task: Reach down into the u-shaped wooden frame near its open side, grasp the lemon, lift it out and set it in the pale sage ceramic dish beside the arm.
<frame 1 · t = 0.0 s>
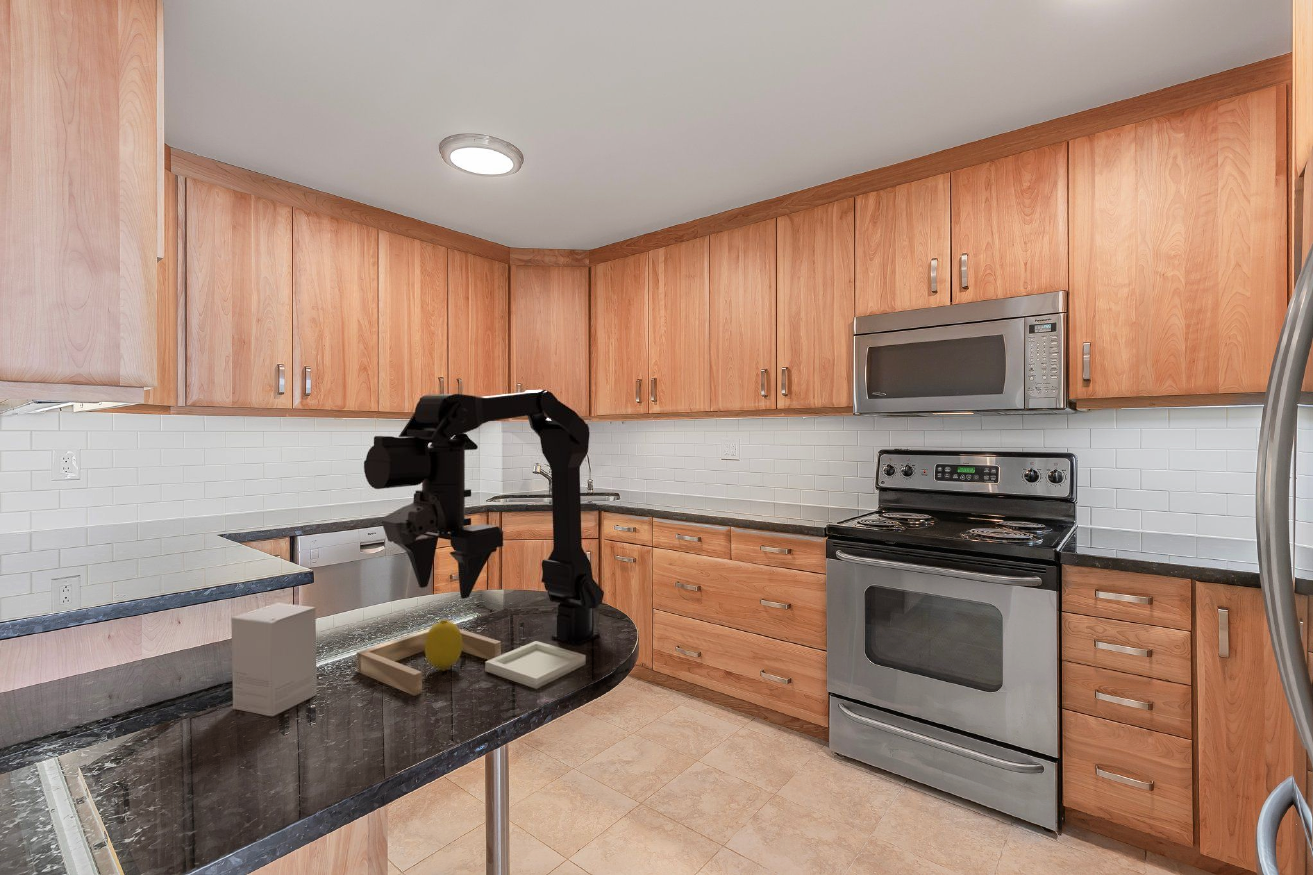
hand: (443, 592, 88), 15 cm above the countertop, tool pointing down, fingers open, 9 cm apart
supplement box: (275, 703, 85), on the countertop
lemon: (443, 671, 97), on the countertop
u-shaped wooden frame: (431, 665, 98), on the countertop
dish: (536, 667, 98), on the countertop
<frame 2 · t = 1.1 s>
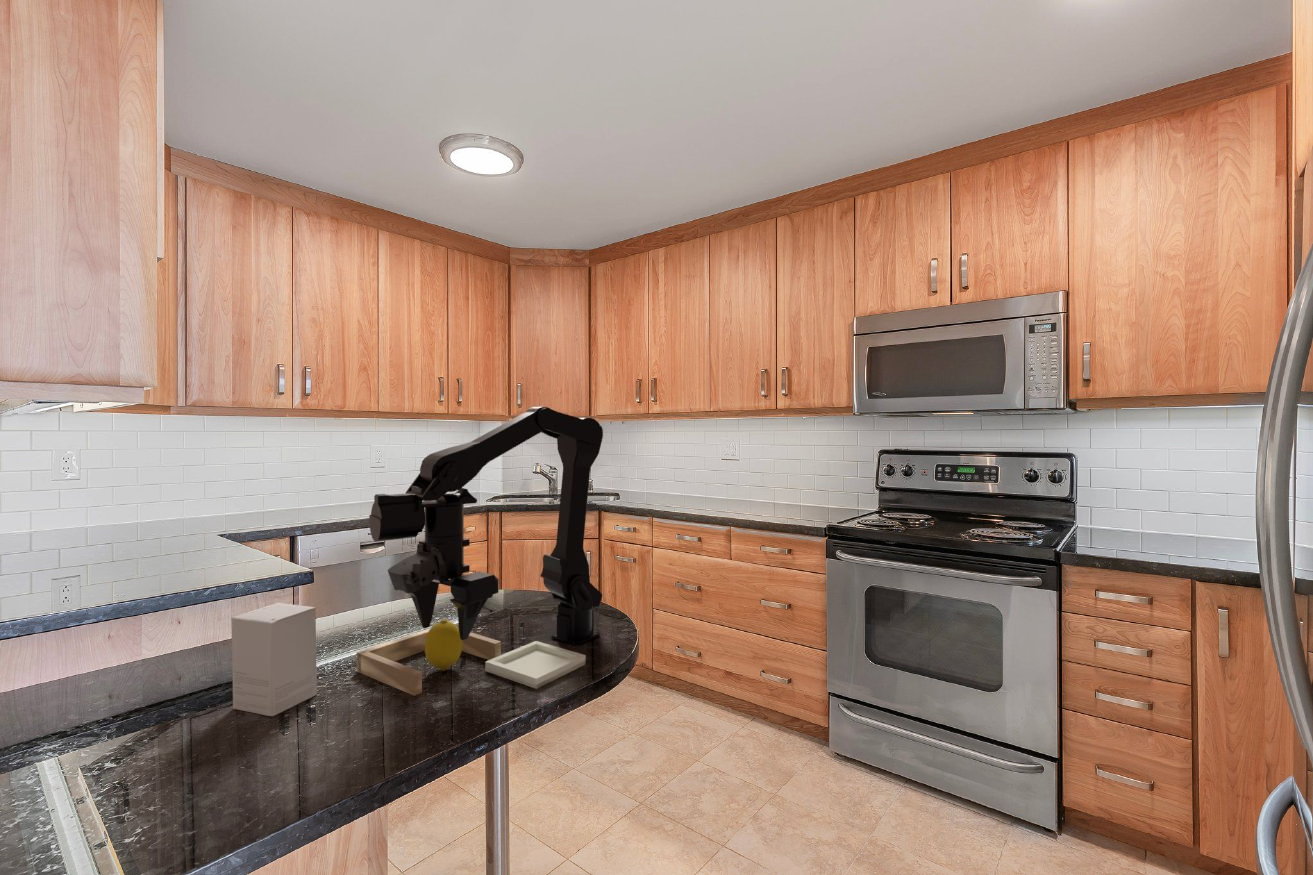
hand: (444, 633, 96), 6 cm above the countertop, tool pointing down, fingers open, 9 cm apart
nothing on the countertop moved.
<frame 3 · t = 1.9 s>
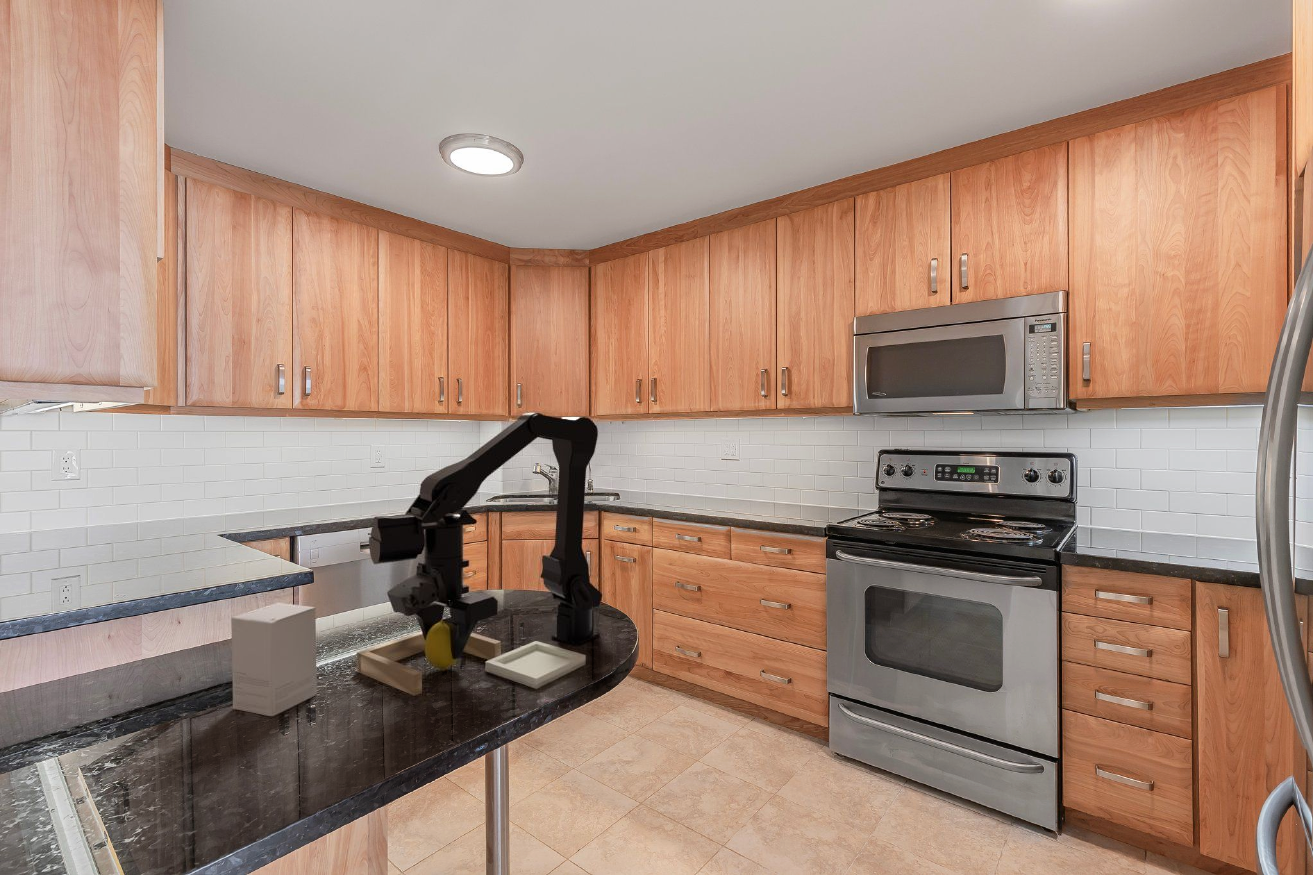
hand: (443, 654, 96), 3 cm above the countertop, tool pointing down, fingers closed on lemon, 6 cm apart
lemon: (443, 671, 97), on the countertop, touching gripper
everything else where it was.
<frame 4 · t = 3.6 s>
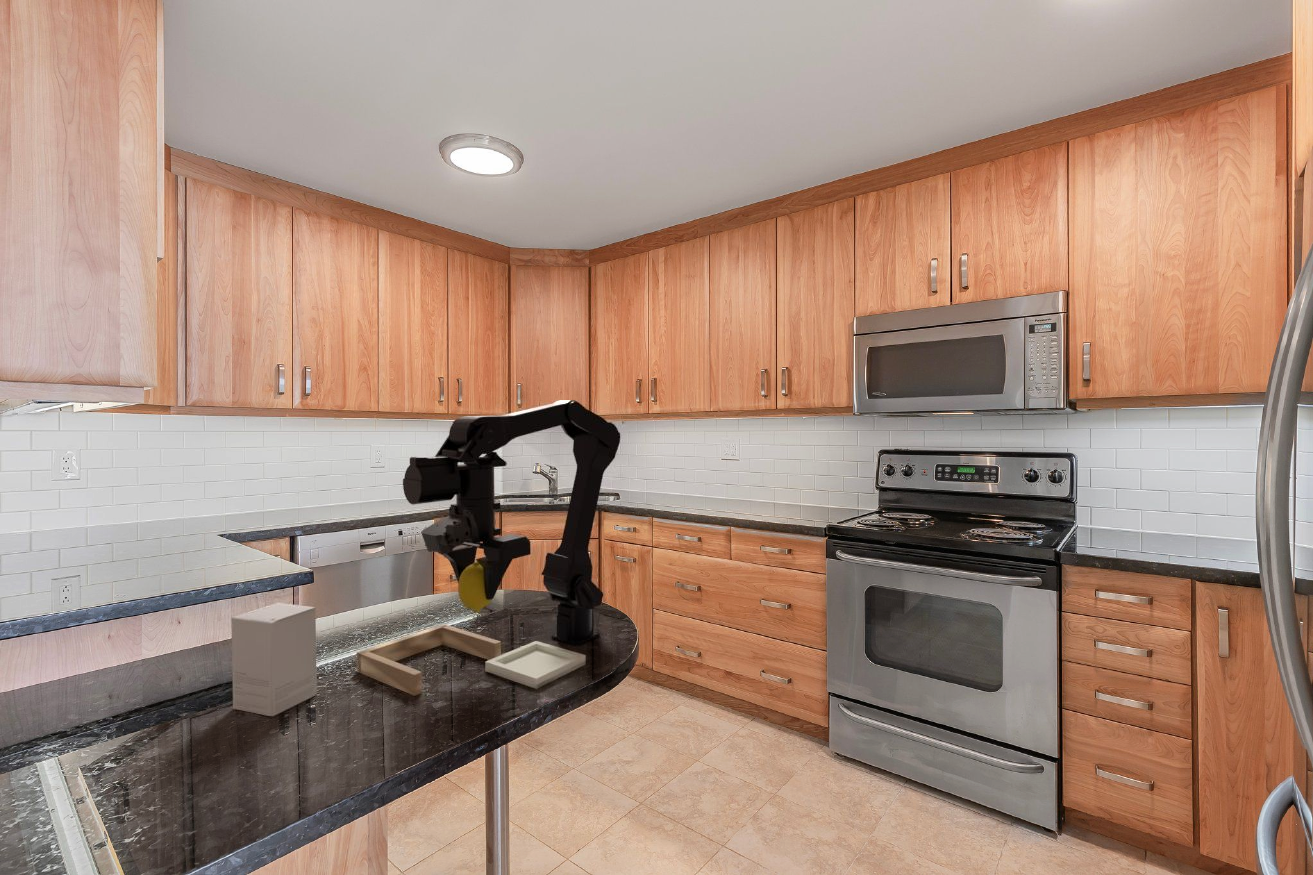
hand: (477, 595, 97), 12 cm above the countertop, tool pointing down, fingers closed on lemon, 6 cm apart
lemon: (477, 613, 97), point 9 cm above the countertop, touching gripper
everything else where it was.
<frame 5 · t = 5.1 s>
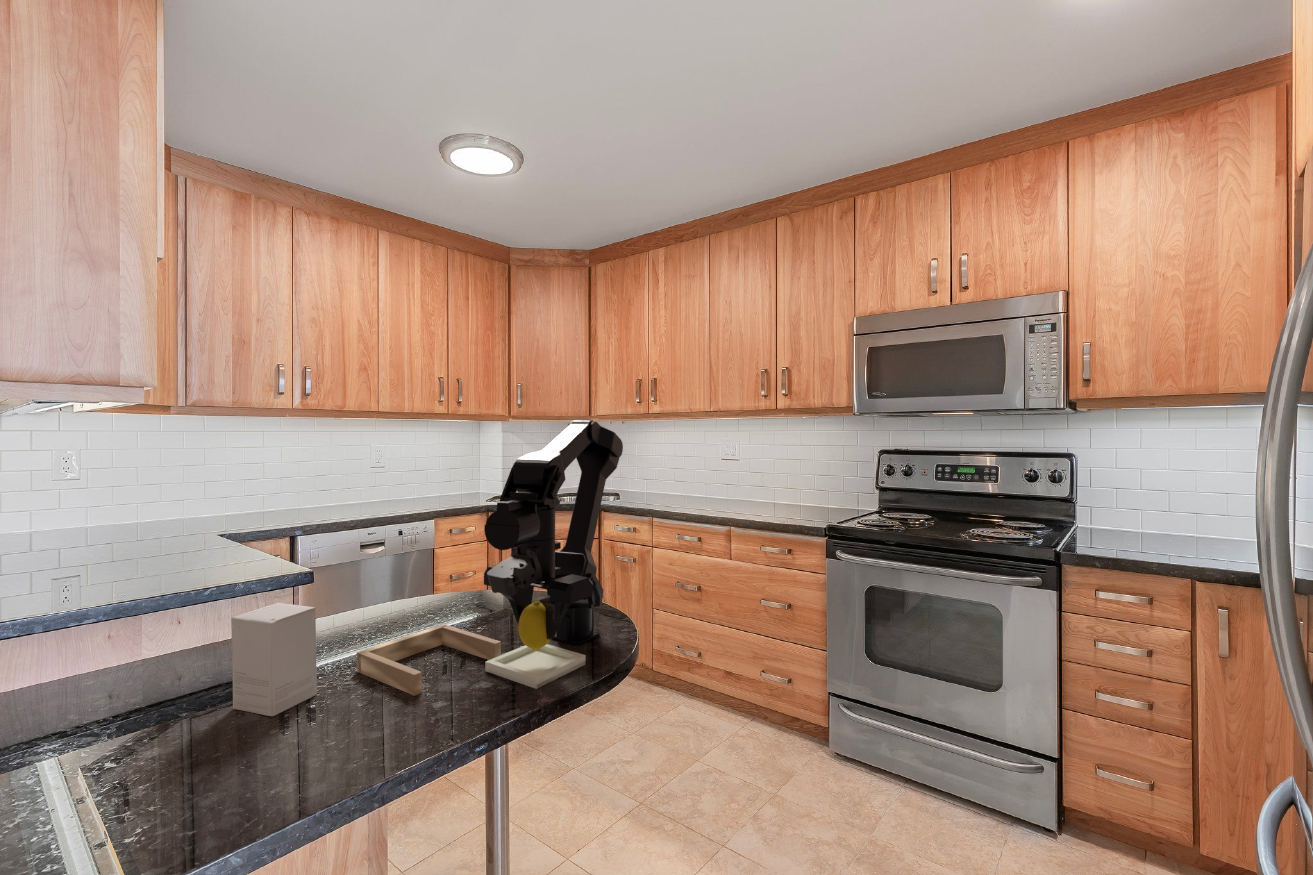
hand: (536, 635, 98), 5 cm above the countertop, tool pointing down, fingers closed on lemon, 6 cm apart
lemon: (536, 652, 98), point 2 cm above the countertop, touching gripper
everything else where it was.
when the fingers open (5 cm above the countertop, at t = 5.5 s): lemon drops 2 cm, resting on dish.
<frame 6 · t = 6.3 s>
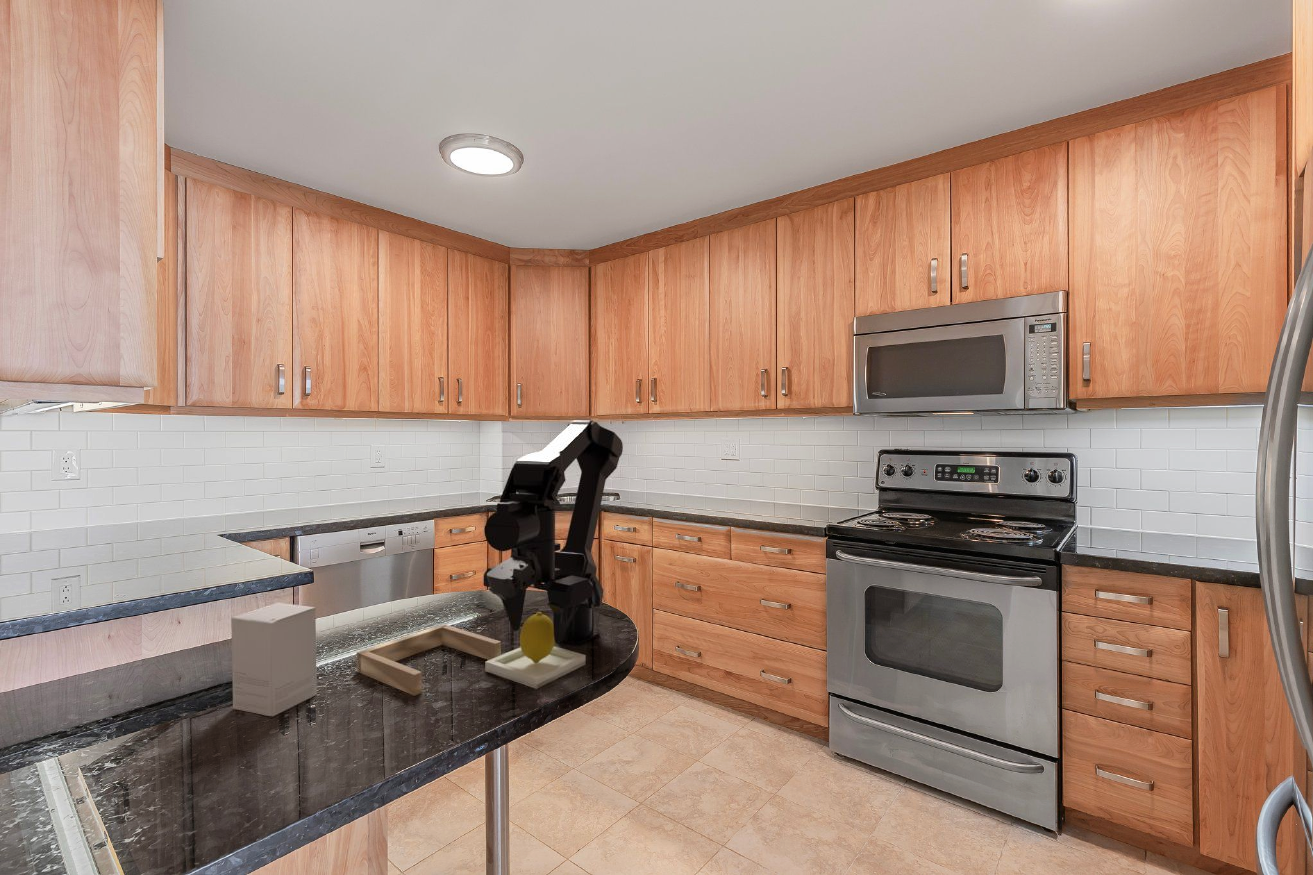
hand: (536, 636, 98), 5 cm above the countertop, tool pointing down, fingers open, 9 cm apart
lemon: (535, 664, 98), point 1 cm above the countertop, touching dish
everything else where it was.
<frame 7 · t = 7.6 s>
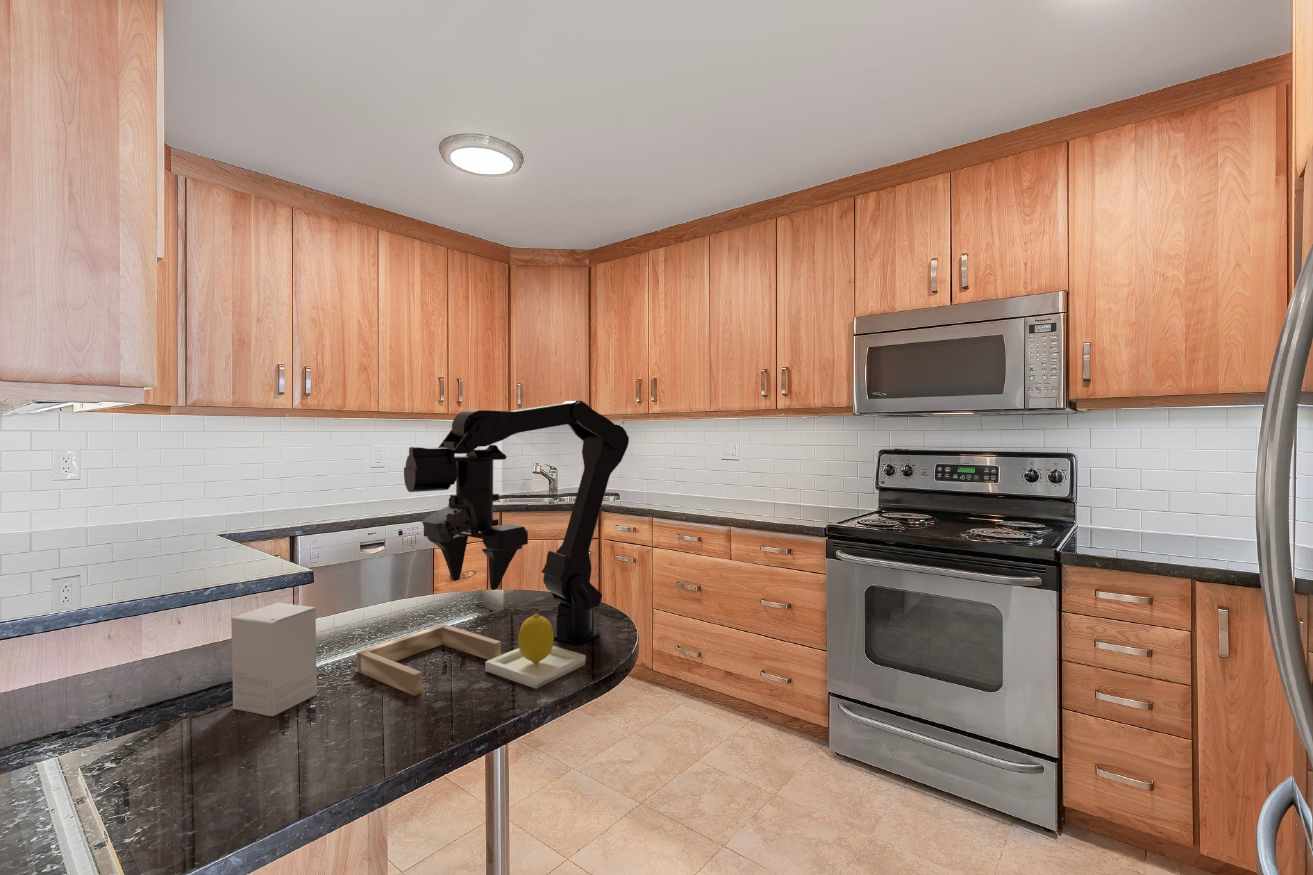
hand: (474, 584, 100), 13 cm above the countertop, tool pointing down, fingers open, 9 cm apart
nothing on the countertop moved.
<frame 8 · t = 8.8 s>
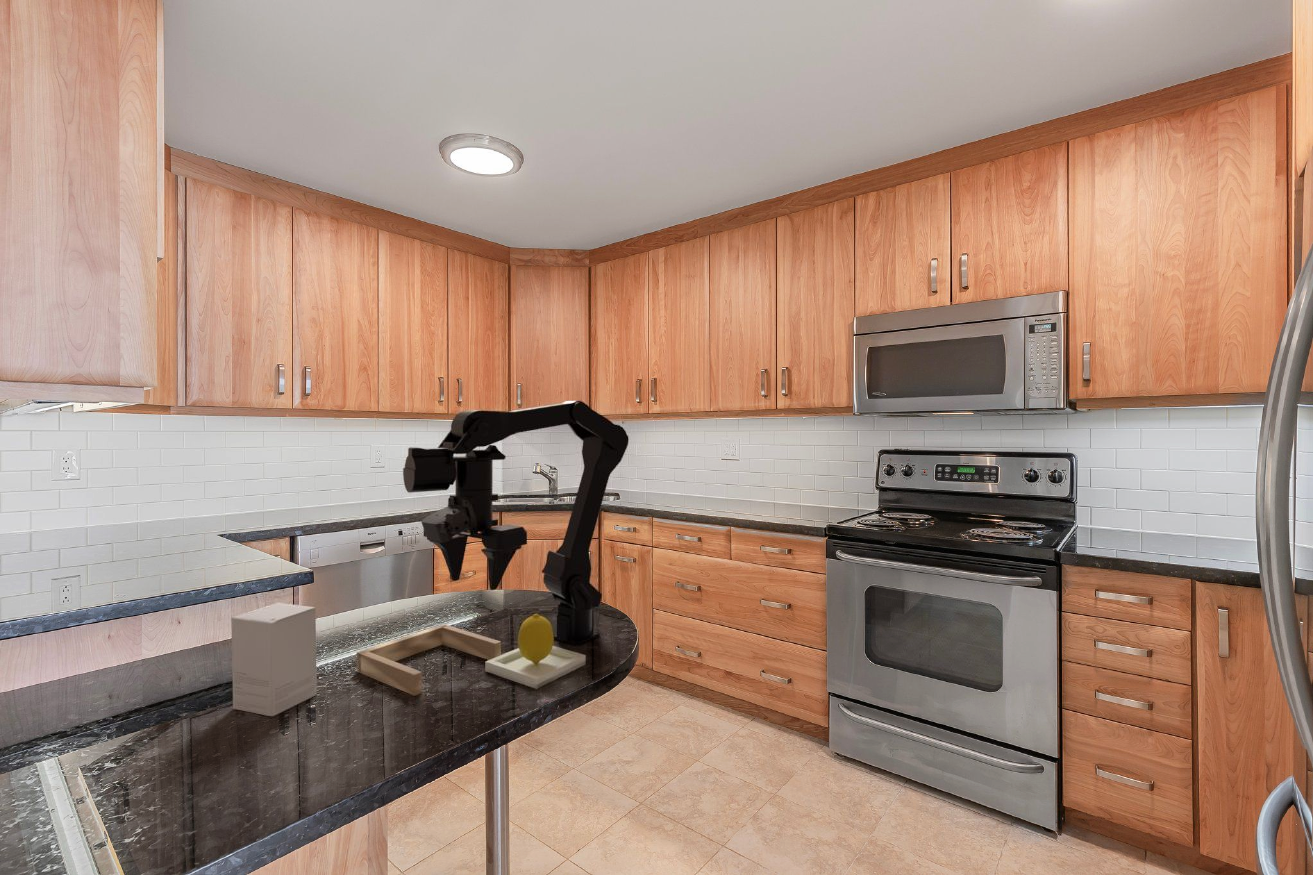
hand: (474, 584, 100), 12 cm above the countertop, tool pointing down, fingers open, 9 cm apart
nothing on the countertop moved.
at the end: lemon 0.0 cm from the dish (horizontally); lemon inside the target area (7.5 cm from its centre), resting on dish; the gripper is holding nothing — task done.
